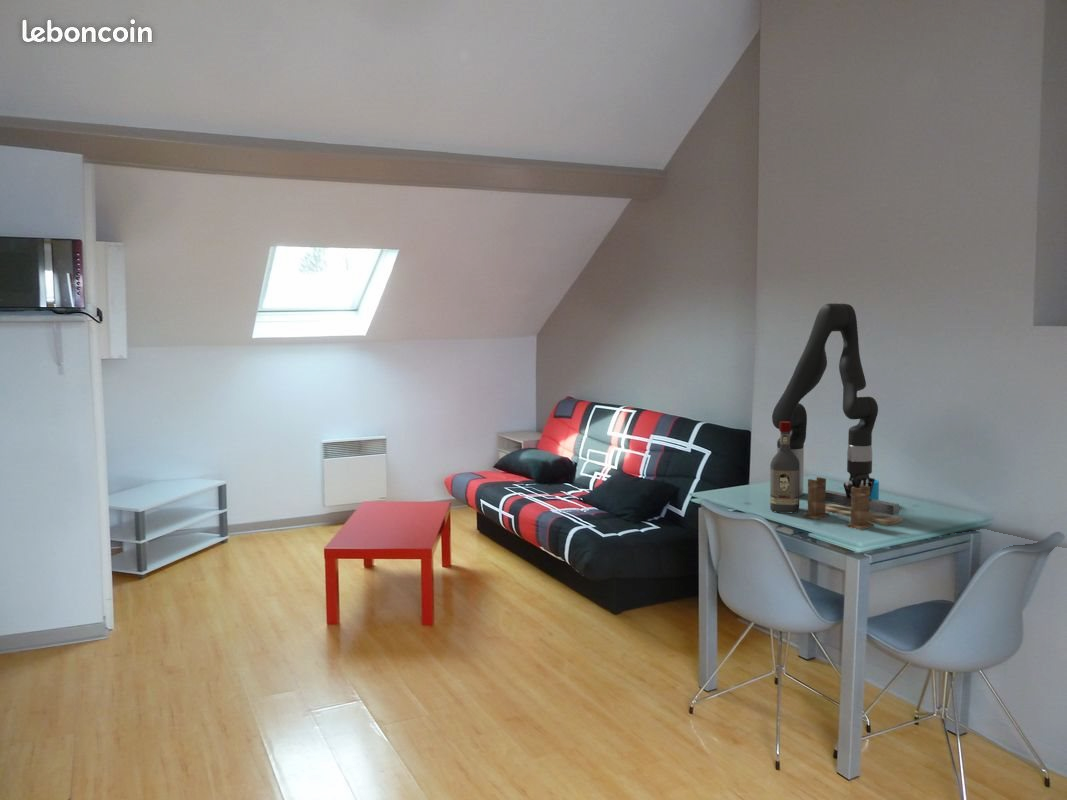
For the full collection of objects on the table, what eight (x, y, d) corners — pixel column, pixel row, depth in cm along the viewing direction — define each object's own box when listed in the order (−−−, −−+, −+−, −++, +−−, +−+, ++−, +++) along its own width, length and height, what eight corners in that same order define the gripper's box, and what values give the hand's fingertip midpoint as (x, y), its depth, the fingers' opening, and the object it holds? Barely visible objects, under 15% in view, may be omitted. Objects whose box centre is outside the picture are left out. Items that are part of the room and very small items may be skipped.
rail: (822, 500, 279) (822, 491, 278) (827, 498, 280) (828, 490, 280) (893, 515, 257) (893, 505, 257) (898, 513, 259) (898, 504, 258)
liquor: (771, 506, 285) (771, 419, 281) (799, 507, 282) (800, 420, 278) (769, 512, 276) (770, 423, 273) (798, 514, 273) (799, 424, 270)
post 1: (803, 516, 270) (803, 479, 268) (817, 513, 274) (817, 476, 272) (816, 519, 266) (816, 481, 264) (829, 516, 269) (830, 478, 268)
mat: (818, 509, 278) (818, 506, 278) (831, 506, 282) (831, 503, 282) (888, 525, 256) (889, 522, 256) (902, 521, 260) (902, 518, 260)
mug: (884, 504, 282) (884, 481, 281) (865, 507, 279) (865, 484, 278) (858, 497, 293) (858, 475, 292) (839, 500, 290) (840, 477, 289)
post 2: (845, 526, 256) (846, 487, 255) (859, 522, 260) (860, 484, 259) (860, 529, 252) (860, 490, 251) (873, 525, 256) (874, 486, 255)
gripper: (862, 454, 274) (861, 505, 276) (836, 459, 266) (835, 512, 268) (883, 457, 268) (882, 509, 270) (856, 462, 260) (855, 516, 262)
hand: (858, 510), depth 269 cm, fingers closed on rail, 3 cm apart
